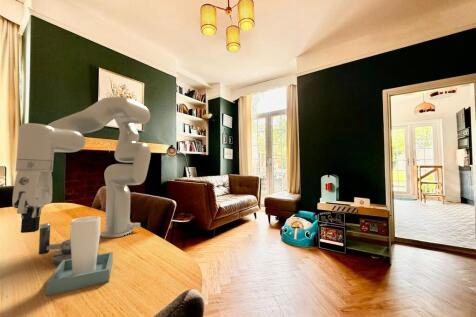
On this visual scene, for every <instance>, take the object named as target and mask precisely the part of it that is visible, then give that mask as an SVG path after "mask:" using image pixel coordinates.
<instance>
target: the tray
mask: <svg viewBox="0 0 476 317" xmlns="http://www.w3.org/2000/svg"><path fill="white" fill-rule="evenodd" d="M113 259H114V251H110V252H104V253H99V254H97V262H96V270H95V271H93V272H88V273H83V274H78V275H73V276H72V259H67V260H62V262H61V263H60V265H59V266H57V268H56V269H55V270H54V272H52V274H51V276H50V277H49V278H48V280H47V281H46V288H45V289H46V290H45V292H46V294H45V296H46V297H48V296H52V295H57V294H61V293H66V292H71V291H75V290H79V289H84V288H89V287H91V286H96V285H100V284H101V285H102V284H106V283H109V282H110V278H111V271H112V268H113V262H114V261H113Z"/></svg>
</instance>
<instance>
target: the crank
mask: <svg viewBox="0 0 476 317" xmlns="http://www.w3.org/2000/svg"><path fill="white" fill-rule="evenodd" d="M50 242H51V223H50V222H46V223H41V224H39V240H38V255H41V256H43V255H47V254H49V252H50V251H51V250H59V249H60V250H61V253H64V254H66V253H71V243H70V238H69V239H65V240H63V241H61V242H60V243H52V244H51V243H50Z"/></svg>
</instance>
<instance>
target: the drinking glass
mask: <svg viewBox="0 0 476 317" xmlns="http://www.w3.org/2000/svg"><path fill="white" fill-rule="evenodd" d="M101 226H102V222H101V216H98V215H91V216H90V215H89V216H82V217H77V218H74V219H71V220H70V229H69V239H70V243H71V258H72V276H73V275H78V274H83V273H88V272H93V271H95V270H96V262H97V254H98V252H99V246H100V238H101V231H102V230H101V228H102V227H101Z"/></svg>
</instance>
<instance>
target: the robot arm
mask: <svg viewBox="0 0 476 317" xmlns="http://www.w3.org/2000/svg"><path fill="white" fill-rule="evenodd" d="M150 119H151V112H150V110H149V109H148V108H147V106H145V105H144V104H141V103H139V102H138V101H136V100H135V99H132V98H130V97H126V96H109V97H103V98H101V99H98V101H96V102H95V103H93V104H92V105H90V106H88V107H86V108H85V109H84V110H81V111H77V112H75V113H73V114H69V115H67V116H64V117H61V118H58V119H57V120H54V121H52V122H50V123H48V124H42V123H34V122H33V123H31V122H26V123H21V124H20V126H19V129H18V140H17V150H16V160H15V161H16V162H15V173H16V172H17V173H16V177H15V180H14V186H13V191H12V201H11V202H12V207H13V208H14V209H17V210H16V213H17V214H20V218H21V225H20V233H21V234H24V233H25V234H27V233H35V232H37V231H40V221H41V220H40V219H41V214H42V209H43V208H44V207H45V206H46V205H49V204H51V203H52V201H53V176H52V175H53V174H52V172H53V171H54V157H55V153H75V152H79V151H81V150H83V149H84V148H85V146H86V143H87V142H86V141H87V140H86V137H85V136H84V135H83V134H89V133H93V132H96V131H99V130H101V129H103V128H104V127H105V126H106V125H108V124H109V123H110V122H112V121H113V120H115V123H116V125H117V126H118V129H119V136H118V139H117V143H116V148H115V150H114V158H115V160H116V161H117V162H120V163H115V164H114V163H113V164H111V165H109V166H107V167H106V169H105V170H104V181H105V182H104V183H105V188H106V189H105V190H106V191H105V195H106V199H105V223H104V225H105V227H104V230H102V231H100V237H102V238H106V239H112V238H121V237H124V235H125V236H127V234H128V235H130V234H132V233H133V232H134V228H141V222H131V218H130V217H131V191H130V188H129V186H138V185H139V186H140V185H142V184H143V183H144V182H145V180H146V178H147V175H148V170H149V167H150V166H149V165H150V162H151V161H150V160H151V155H152V153H151V152H152V151H151V149H150V147H149V145H148V144H147V143H145V142H139V139H140V134H139V132H138V130H137V129H136V128H135V126H134V125H143V124H144V125H145V124H147V123H149V121H150ZM132 231H133V232H132ZM131 232H132V233H131ZM129 233H130V234H129Z"/></svg>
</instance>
